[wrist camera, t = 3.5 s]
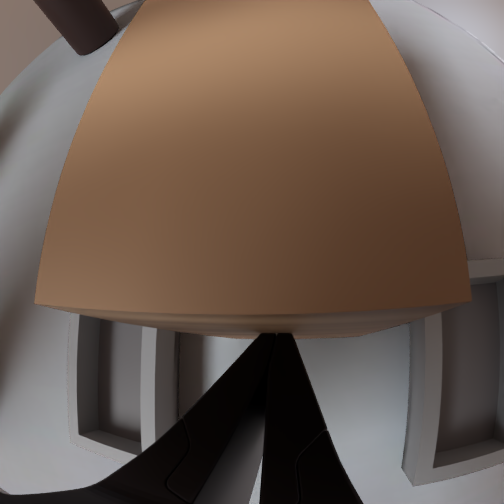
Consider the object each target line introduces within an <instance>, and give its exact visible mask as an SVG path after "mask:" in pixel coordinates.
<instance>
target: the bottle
mask: <svg viewBox="0 0 504 504" xmlns="http://www.w3.org/2000/svg"><path fill="white" fill-rule="evenodd" d="M34 1H35V3H36V4H37V5H38V6H39V8H40V9H41V10H42V11H43V12H44V14H45V15H46V16H47V17H48V19H49V20H50V21H51V22H52V23H53V25H54V26H55V27H56V28H57V30H58V31H59V32H60V33H61V34H62V36H63V37H64V38H65V39H66V41H67V42H68V43H69V44H70V45H71V47H72V48H73V49H74V50H75V51H76V53H77V54H79V55H86V54H89V53H91V52H93V51H95V50H96V49H98V48H99V47H101V46H102V45H104V44H105V43H106V42H107V41H108V40H110V39H111V38H112V37H113V36H114V34H115V33H116V32H117V30H118V24H117V22H116V21H115V19H114V18H113V16H112V15H111V13H110V12H109V11H108V9H107V8H106V6H105V5H104V3H103V2H102V0H34Z"/></svg>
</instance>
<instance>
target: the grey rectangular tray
mask: <svg viewBox="0 0 504 504" xmlns="http://www.w3.org/2000/svg"><path fill="white" fill-rule="evenodd" d="M179 346H180V332H177V331H170V330H163V329H157V328H150V327H144V326H138V325H132V324H127V323H121V322H116V321H110V320H105V319H100V318H95V317H90V316H85V315H81V314H76V313H71V312H70V323H69V338H68V364H67V395H68V420H69V434H70V443H72V444H74V445H76V446H79V447H81V448H83V449H86V450H88V451H90V452H93V453H95V454H98V455H100V456H103V457H106V458H108V459H111V460H114V461H116V462H119V463H122V464H127V463H128V462H129V461H131V460H132V459H134V458H135V457H136V456H138V455H139V454H140V453H142V452H143V451H144V450H146V449H147V448H148V447H149V446H151V445H152V444H153V443H154V442H156V441H157V440H158V439H159V438H160V437H161V436H162V435H163V434H165V433H166V432H167V431H168V430H169V429H170V428H171V427H172V426H173V425H174V424H175V423H176V422H177V421H178V380H179Z"/></svg>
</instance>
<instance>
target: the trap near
mask: <svg viewBox="0 0 504 504" xmlns="http://www.w3.org/2000/svg"><path fill="white" fill-rule="evenodd" d="M467 263H468V270H469V278H470V287H471V296H472V301H471V302H468V303H466V304H463V305H460V306H457V307H455V308H452V309H449V310H446V311H443V312H440V313H437V314H434V315H431V316H428V317H425V318H422V319H418V320H415V321H412V322H409V331H410V375H409V399H408V414H407V426H406V436H405V445H404V453H403V460H402V467H401V468H402V469H403V471H404V473H405V474H406V476H407V477H408V479H409V481H410V482H411V484H412V486H419V485H424V484H429V483H434V482H438V481H443V480H447V479H451V478H455V477H459V476H462V475H466V474H469V473H473V472H476V471H479V470H482V469H486V468H489V467H492V466H494V465H497V464H500V463H503V462H504V258H494V259H480V260H467Z"/></svg>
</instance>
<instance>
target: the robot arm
mask: <svg viewBox="0 0 504 504" xmlns="http://www.w3.org/2000/svg"><path fill="white" fill-rule="evenodd" d="M262 456H263V460H262V474H261V488H260V501H259V504H363V502H362V500H361V499H360V497H359V495H358V493H357V492H356V490H355V488H354V486H353V485H352V483H351V481H350V479H349V477H348V475H347V474H346V472H345V470H344V468H343V466H342V464H341V462H340V459H339V457H338V454H337V452H336V450H335V447H334V445H333V442H332V439H331V437H330V434H329V431H327V426H326V423H325V421H324V418H323V415H322V412H321V410H320V407H319V404H318V401H317V399H316V396H315V393H314V390H313V388H312V385H311V382H310V380H309V377H308V374H307V371H306V369H305V366H304V363H303V361H302V358H301V355H300V353H299V350H298V347H297V344H296V342H295V339H294V336H293V334H292V333H278V334H277V335H276V333H261V334H259V336H258V337H257V338H256V339H255V340H254V341H253V342H252V343H251V344H250V346H249V347H248V348H247V349H246V350H245V351H244V352H243V353H242V354H241V355H240V357H239V358H238V359H237V360H236V361H235V362H234V363H233V364H232V365H231V366H230V367H229V368H228V370H227V371H226V372H225V373H224V374H223V375H222V376H221V377H220V378H219V379H218V380H217V381H216V382H215V383H214V384H213V385H212V387H211V388H210V389H209V390H208V391H207V392H206V393H205V394H204V395H203V396H202V397H201V398H200V399H199V400H198V401H197V402H196V403H195V404H194V405H193V406H192V407H191V408H190V409H189V410H188V411H187V412H186V413H185V414H184V415H183V416H182V419H179V420H178V421H177V422H176V423H175V424H174V425H173V426H172V427H171V428H170V429H169V430H168V431H167V432H166V433H165V434H163V435H162V436H161V437H160V438H159V439H158V440H157V441H156V442H154V443H153V444H152V445H151V446H149V447H148V448H147V449H146V450H144V451H143V452H142V453H140V454H139V455H138V456H136V457H135V458H134V459H132V460H131V461H129V462H128V463H127V464H125V465H124V466H122V467H121V468H120V469H118V470H117V471H115V472H114V473H112V474H111V475H110V476H108V477H107V478H105V479H103V480H102V481H100V482H98V483H96V484H93V485H91V486H88V487H85V488H80V489H74V490H67V491H59V492H50V493H40V494H26V495H11V494H9V493H7V492H6V491H4V490H3V489H1V488H0V504H249V501H250V497H251V494H252V491H253V487H254V484H255V480H256V477H257V473H258V470H259V466H260V463H261V459H262Z"/></svg>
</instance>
